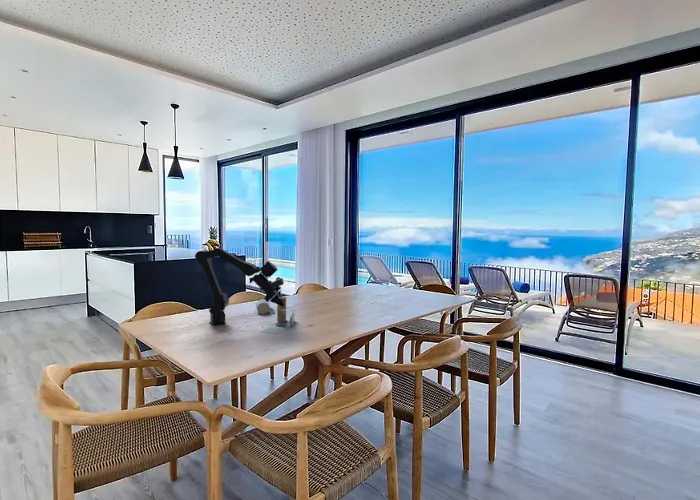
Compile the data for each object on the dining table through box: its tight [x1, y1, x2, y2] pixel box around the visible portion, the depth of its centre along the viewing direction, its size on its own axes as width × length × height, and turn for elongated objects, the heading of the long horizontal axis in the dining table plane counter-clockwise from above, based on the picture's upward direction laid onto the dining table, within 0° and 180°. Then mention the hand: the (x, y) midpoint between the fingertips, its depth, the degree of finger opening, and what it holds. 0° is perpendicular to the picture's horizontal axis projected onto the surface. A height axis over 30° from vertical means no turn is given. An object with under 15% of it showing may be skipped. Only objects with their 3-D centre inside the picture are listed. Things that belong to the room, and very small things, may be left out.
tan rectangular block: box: [276, 296, 287, 322], centre depth 193 cm, size 4×4×12 cm
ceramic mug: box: [255, 298, 276, 315], centre depth 217 cm, size 11×8×8 cm
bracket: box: [275, 312, 296, 328], centre depth 193 cm, size 8×12×5 cm
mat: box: [260, 326, 286, 335], centre depth 181 cm, size 9×9×1 cm
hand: (284, 304), depth 193 cm, fingers closed on tan rectangular block, 4 cm apart
